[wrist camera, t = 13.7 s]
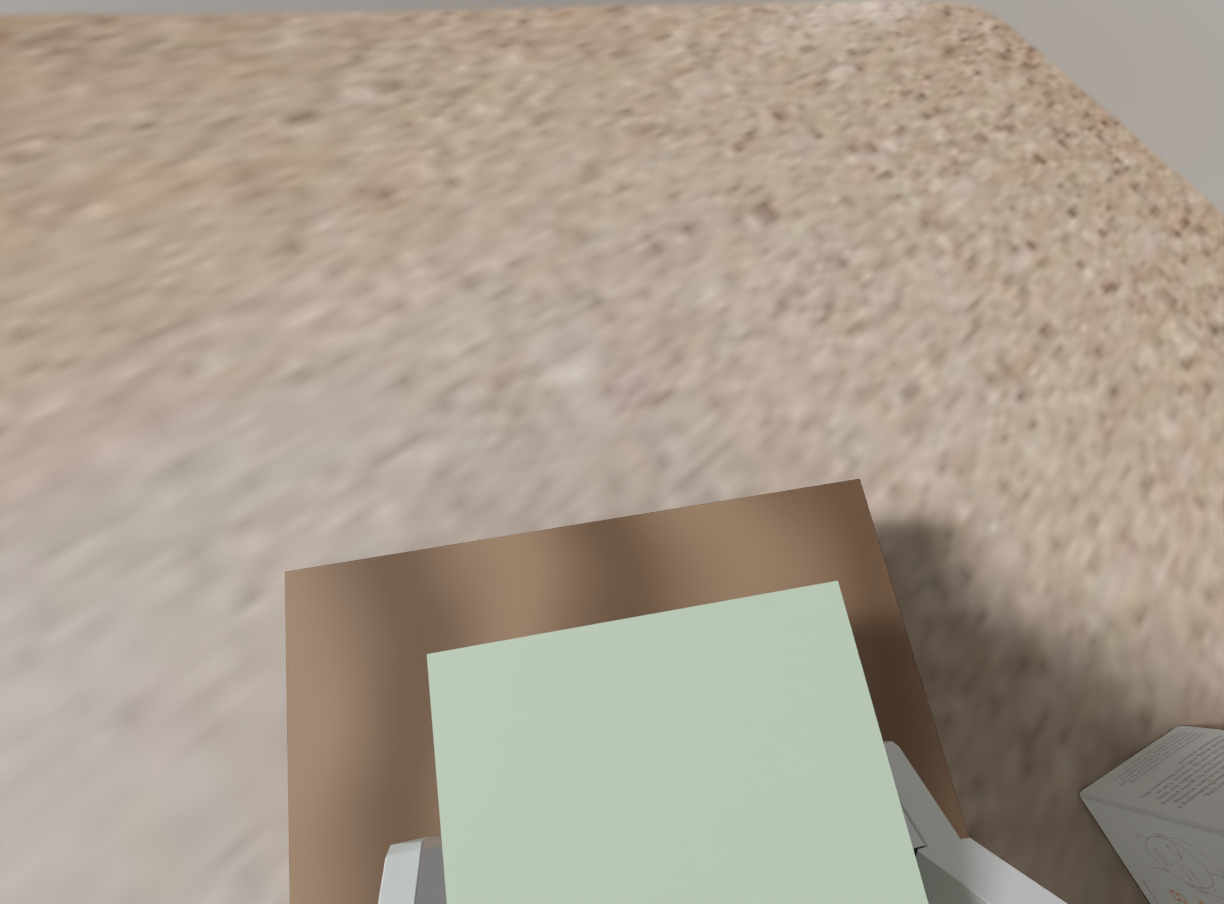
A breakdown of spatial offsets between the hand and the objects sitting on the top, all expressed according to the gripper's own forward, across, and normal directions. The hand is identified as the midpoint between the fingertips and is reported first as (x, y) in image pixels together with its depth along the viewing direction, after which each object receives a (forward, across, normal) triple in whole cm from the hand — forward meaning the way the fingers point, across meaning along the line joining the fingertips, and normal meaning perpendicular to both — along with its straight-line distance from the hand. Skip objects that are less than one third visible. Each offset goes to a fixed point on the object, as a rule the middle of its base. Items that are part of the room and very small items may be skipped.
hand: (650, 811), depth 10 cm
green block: (+5, 0, +4) cm, 6 cm away
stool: (+11, 0, +10) cm, 15 cm away
